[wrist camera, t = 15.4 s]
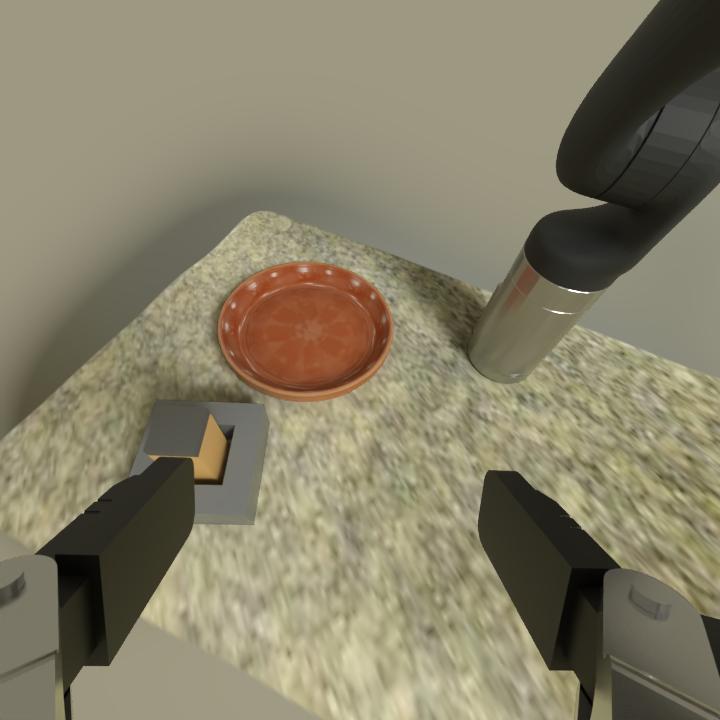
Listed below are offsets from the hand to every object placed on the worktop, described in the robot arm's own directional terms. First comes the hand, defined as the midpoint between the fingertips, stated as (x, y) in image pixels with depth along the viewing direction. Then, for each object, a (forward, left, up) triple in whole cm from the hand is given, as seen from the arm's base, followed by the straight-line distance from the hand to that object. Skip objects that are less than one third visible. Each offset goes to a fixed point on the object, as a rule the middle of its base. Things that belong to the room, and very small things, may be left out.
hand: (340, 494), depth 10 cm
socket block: (-9, -13, -30) cm, 34 cm away
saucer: (-28, -4, -30) cm, 42 cm away
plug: (-9, -13, -28) cm, 33 cm away
